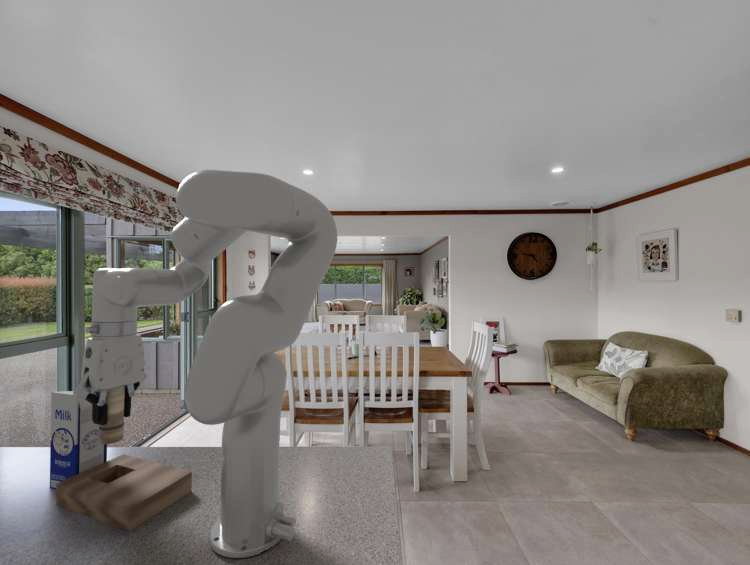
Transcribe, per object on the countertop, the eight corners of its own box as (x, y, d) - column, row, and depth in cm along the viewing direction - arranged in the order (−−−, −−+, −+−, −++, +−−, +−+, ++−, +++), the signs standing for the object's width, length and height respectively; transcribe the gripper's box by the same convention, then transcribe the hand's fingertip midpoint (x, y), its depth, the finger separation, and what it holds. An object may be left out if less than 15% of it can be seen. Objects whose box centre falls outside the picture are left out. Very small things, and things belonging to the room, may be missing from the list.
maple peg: (128, 437, 75) (130, 379, 75) (107, 445, 72) (109, 384, 71) (114, 434, 77) (116, 376, 77) (93, 441, 73) (95, 381, 73)
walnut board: (191, 491, 75) (191, 472, 75) (129, 531, 63) (130, 508, 63) (123, 471, 82) (123, 454, 82) (55, 504, 70) (56, 483, 70)
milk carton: (48, 488, 76) (50, 391, 75) (82, 471, 82) (83, 382, 82) (75, 493, 74) (77, 394, 74) (107, 476, 80) (108, 385, 80)
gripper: (81, 336, 65) (78, 439, 65) (165, 326, 81) (162, 409, 81) (54, 333, 67) (51, 432, 68) (140, 323, 83) (138, 404, 83)
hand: (112, 418), depth 74 cm, fingers closed on maple peg, 4 cm apart
